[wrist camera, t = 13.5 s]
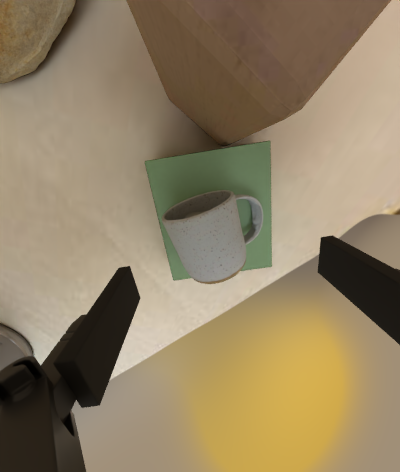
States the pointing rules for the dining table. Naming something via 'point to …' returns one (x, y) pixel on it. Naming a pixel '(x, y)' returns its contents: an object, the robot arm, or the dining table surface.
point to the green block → (213, 179)
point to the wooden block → (248, 55)
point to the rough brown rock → (28, 33)
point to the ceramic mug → (211, 234)
